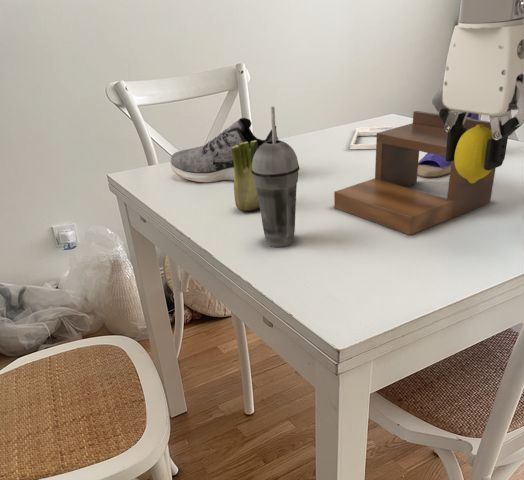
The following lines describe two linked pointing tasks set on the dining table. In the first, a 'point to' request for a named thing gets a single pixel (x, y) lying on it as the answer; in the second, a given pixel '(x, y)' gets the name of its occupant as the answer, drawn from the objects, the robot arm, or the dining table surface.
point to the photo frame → (368, 132)
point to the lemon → (472, 153)
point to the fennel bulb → (244, 176)
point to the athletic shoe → (215, 155)
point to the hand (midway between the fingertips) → (473, 162)
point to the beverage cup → (276, 188)
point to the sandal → (437, 161)
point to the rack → (413, 180)
